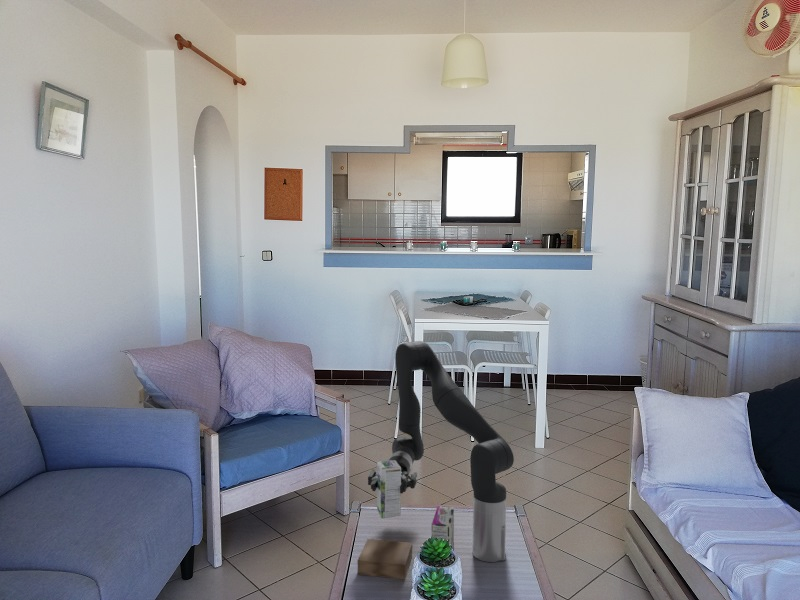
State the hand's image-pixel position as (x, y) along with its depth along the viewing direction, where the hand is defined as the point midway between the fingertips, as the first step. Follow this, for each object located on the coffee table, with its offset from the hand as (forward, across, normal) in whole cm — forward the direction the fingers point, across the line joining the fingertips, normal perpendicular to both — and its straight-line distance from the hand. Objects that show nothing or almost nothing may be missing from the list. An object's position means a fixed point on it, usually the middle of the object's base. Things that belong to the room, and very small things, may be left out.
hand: (387, 489), depth 172 cm
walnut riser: (+3, 0, +21) cm, 21 cm away
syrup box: (-2, 0, +8) cm, 8 cm away
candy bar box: (+4, +16, +21) cm, 27 cm away
